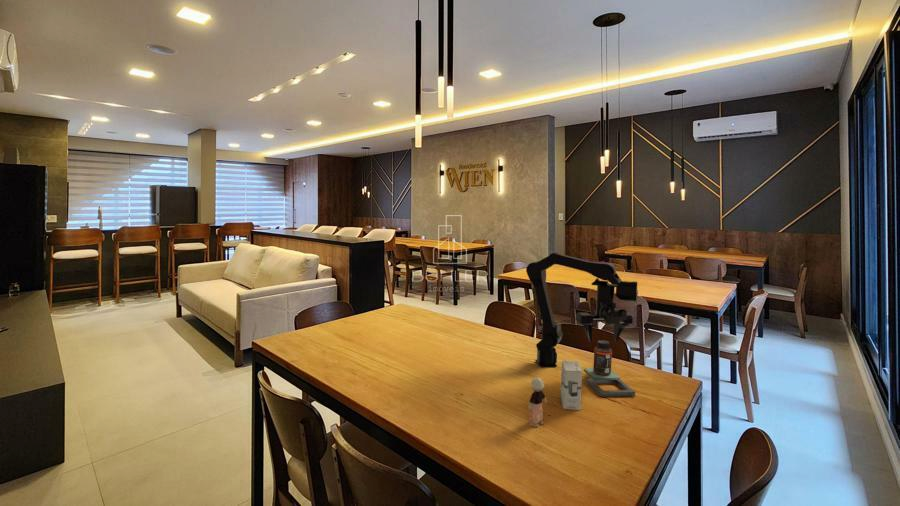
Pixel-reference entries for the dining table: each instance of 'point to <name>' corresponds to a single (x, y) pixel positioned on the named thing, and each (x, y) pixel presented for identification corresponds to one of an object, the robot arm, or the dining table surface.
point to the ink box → (571, 385)
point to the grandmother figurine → (536, 403)
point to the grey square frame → (610, 393)
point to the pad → (594, 375)
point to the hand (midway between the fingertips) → (603, 341)
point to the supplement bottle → (602, 358)
